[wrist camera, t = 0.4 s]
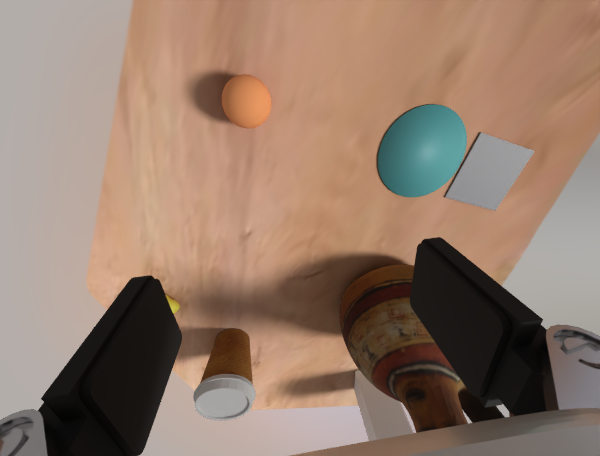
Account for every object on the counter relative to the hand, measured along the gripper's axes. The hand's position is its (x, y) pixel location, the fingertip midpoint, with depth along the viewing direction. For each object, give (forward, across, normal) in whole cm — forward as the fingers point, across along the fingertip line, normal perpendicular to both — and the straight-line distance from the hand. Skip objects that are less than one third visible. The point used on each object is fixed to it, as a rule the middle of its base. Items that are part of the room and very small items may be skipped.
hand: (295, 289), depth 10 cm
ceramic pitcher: (+29, -17, +29) cm, 45 cm away
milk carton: (+29, -16, +54) cm, 63 cm away
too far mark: (+28, -32, +7) cm, 44 cm away
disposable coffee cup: (+29, +12, +35) cm, 47 cm away
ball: (+26, +2, -6) cm, 27 cm away
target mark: (+28, -21, +3) cm, 35 cm away
